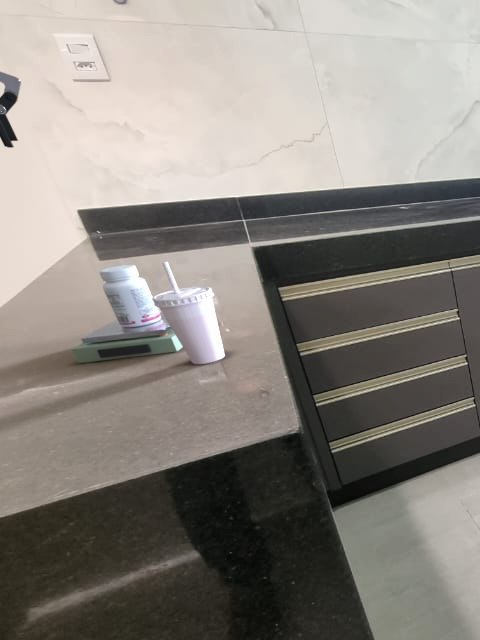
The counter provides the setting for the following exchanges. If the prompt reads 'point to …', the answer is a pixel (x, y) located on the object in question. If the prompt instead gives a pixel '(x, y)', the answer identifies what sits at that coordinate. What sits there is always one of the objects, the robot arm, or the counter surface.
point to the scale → (127, 348)
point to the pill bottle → (129, 296)
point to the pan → (128, 331)
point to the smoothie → (192, 320)
